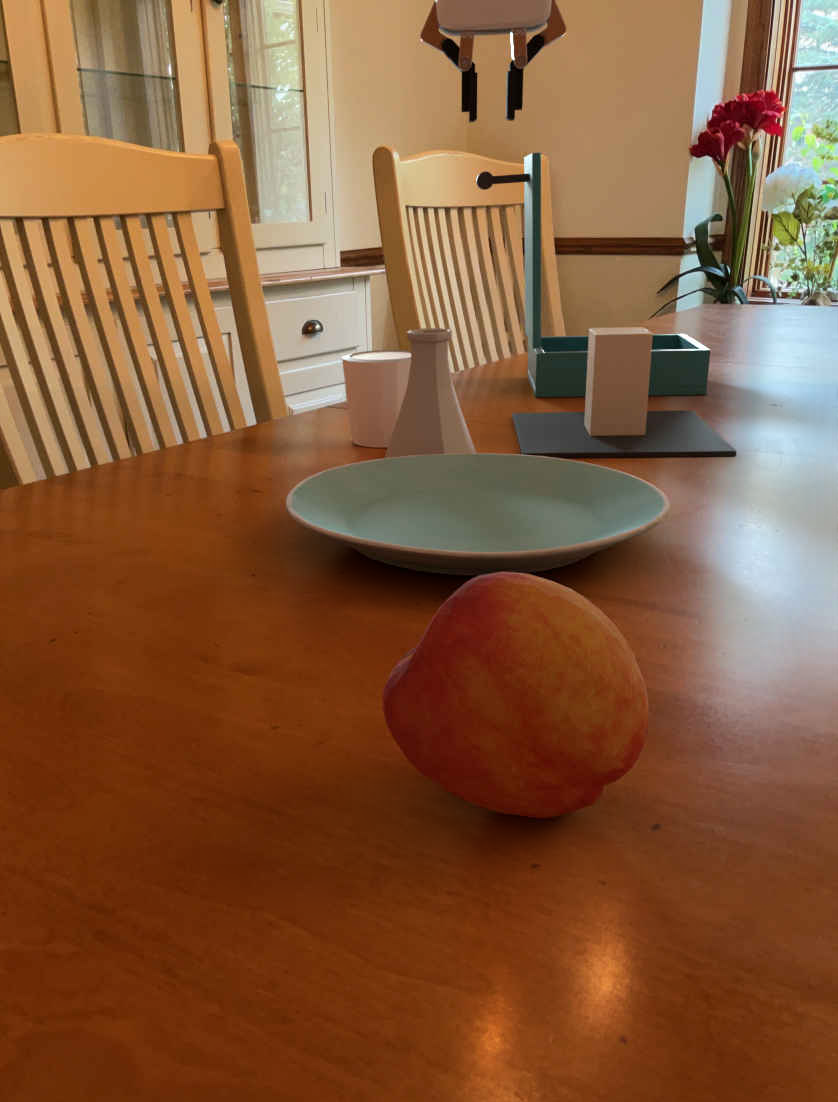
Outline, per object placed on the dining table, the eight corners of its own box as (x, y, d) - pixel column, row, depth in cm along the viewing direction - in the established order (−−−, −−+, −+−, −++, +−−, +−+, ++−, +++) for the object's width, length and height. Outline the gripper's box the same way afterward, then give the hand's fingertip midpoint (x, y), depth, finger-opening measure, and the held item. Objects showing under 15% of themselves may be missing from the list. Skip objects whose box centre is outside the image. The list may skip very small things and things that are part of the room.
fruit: (484, 719, 41) (487, 522, 38) (678, 787, 36) (701, 566, 33) (349, 805, 35) (340, 582, 32) (556, 898, 30) (569, 646, 27)
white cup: (380, 453, 83) (378, 363, 80) (328, 440, 88) (324, 355, 85) (443, 439, 87) (443, 353, 84) (389, 428, 92) (387, 346, 89)
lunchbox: (681, 374, 114) (684, 333, 112) (706, 394, 102) (710, 349, 100) (527, 376, 115) (528, 336, 113) (535, 397, 103) (536, 353, 102)
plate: (542, 475, 75) (543, 436, 74) (751, 565, 56) (757, 514, 55) (244, 514, 68) (241, 471, 67) (368, 632, 49) (367, 576, 48)
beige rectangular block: (636, 424, 88) (643, 326, 85) (645, 435, 84) (652, 333, 81) (584, 425, 89) (589, 328, 86) (590, 436, 85) (595, 334, 82)
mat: (692, 414, 93) (692, 410, 93) (736, 456, 79) (736, 450, 79) (512, 417, 95) (512, 412, 95) (522, 458, 80) (522, 453, 80)
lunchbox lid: (532, 156, 106) (475, 160, 107) (541, 152, 95) (477, 157, 96) (532, 332, 113) (478, 335, 114) (540, 348, 102) (481, 351, 102)
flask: (494, 462, 79) (497, 326, 75) (452, 485, 73) (453, 338, 70) (410, 454, 83) (408, 323, 79) (364, 474, 77) (359, 335, 73)
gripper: (587, -114, 91) (576, 119, 99) (401, -103, 93) (404, 126, 100) (597, -139, 85) (585, 114, 92) (397, -127, 86) (401, 121, 93)
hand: (491, 118), depth 96 cm, fingers closed
